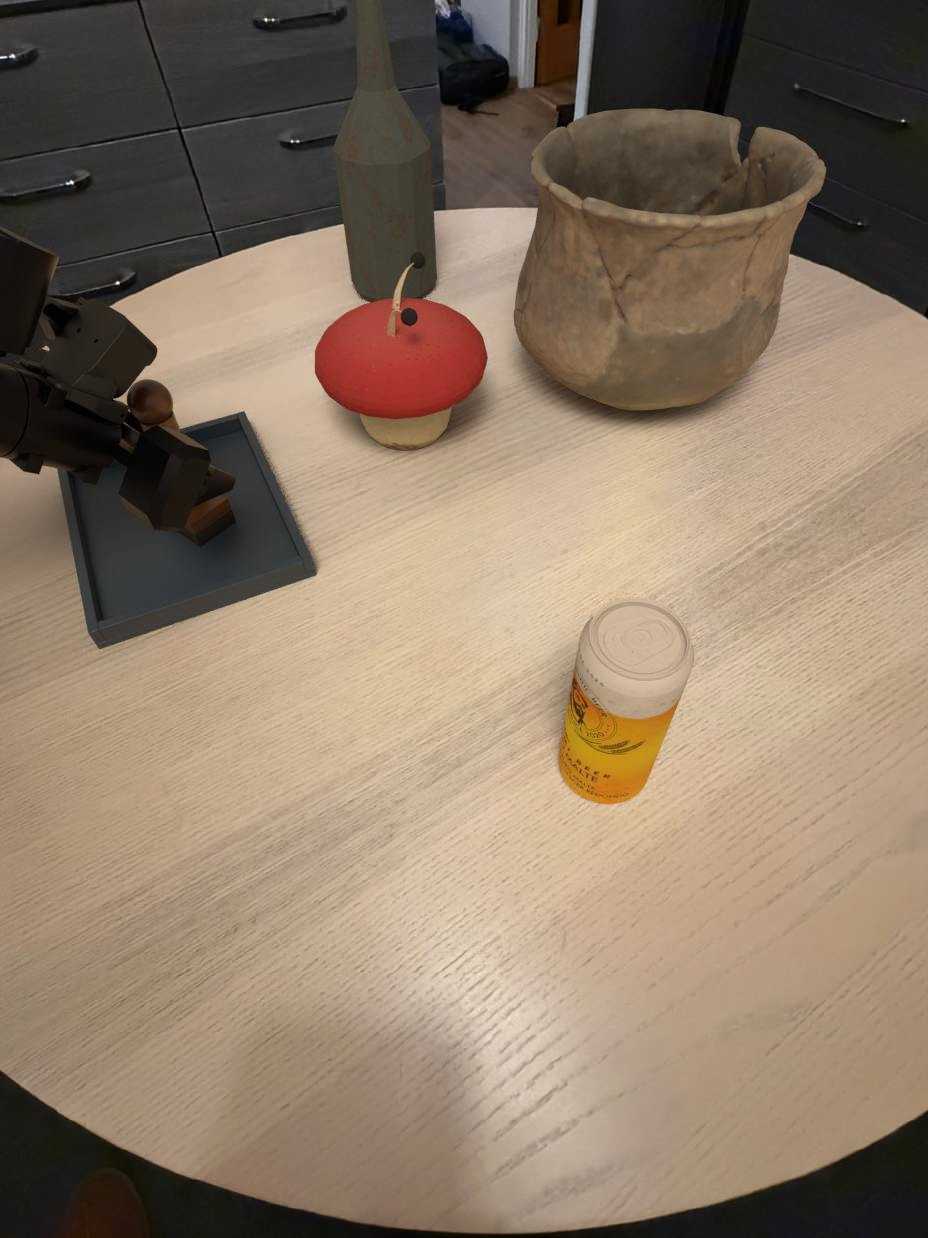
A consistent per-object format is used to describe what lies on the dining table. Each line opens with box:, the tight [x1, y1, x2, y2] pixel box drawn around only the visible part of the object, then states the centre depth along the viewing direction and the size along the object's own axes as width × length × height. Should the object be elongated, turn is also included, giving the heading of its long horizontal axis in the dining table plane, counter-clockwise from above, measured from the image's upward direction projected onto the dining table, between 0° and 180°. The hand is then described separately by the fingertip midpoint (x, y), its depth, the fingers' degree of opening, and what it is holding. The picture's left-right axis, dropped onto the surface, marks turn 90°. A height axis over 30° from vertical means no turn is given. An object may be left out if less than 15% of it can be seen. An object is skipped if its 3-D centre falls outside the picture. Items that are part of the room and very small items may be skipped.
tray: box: [56, 410, 317, 650], centre depth 65 cm, size 18×22×2 cm
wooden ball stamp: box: [126, 378, 236, 547], centre depth 60 cm, size 5×4×14 cm
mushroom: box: [314, 252, 489, 451], centre depth 68 cm, size 16×16×15 cm
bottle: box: [332, 0, 438, 303], centre depth 79 cm, size 10×10×30 cm
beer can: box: [558, 596, 695, 805], centre depth 45 cm, size 6×6×15 cm
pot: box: [513, 108, 827, 412], centre depth 70 cm, size 25×24×21 cm
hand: (196, 459), depth 60 cm, fingers open, 9 cm apart
